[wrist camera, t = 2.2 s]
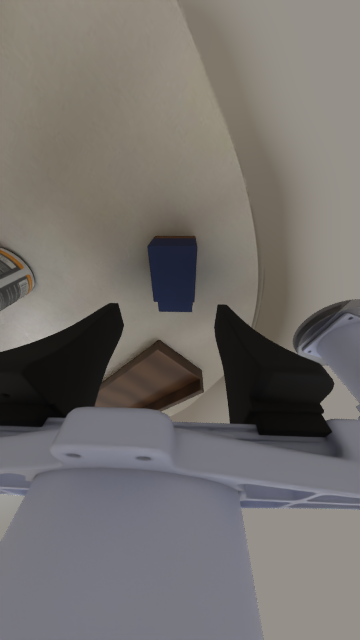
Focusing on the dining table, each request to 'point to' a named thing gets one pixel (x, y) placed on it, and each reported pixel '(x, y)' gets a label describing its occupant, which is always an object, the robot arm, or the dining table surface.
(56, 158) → the dining table surface
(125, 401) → the shelf
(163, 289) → the navy block wooden base
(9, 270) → the pill bottle
